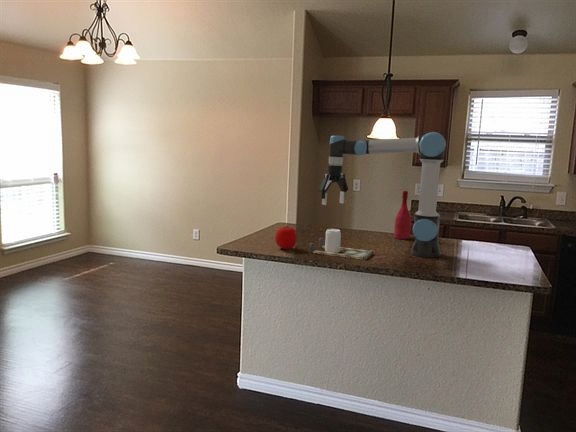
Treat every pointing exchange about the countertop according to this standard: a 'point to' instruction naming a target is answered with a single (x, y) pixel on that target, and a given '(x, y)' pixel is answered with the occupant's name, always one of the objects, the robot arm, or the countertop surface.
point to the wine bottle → (403, 220)
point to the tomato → (285, 237)
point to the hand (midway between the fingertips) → (333, 204)
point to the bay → (348, 254)
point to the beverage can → (333, 240)
